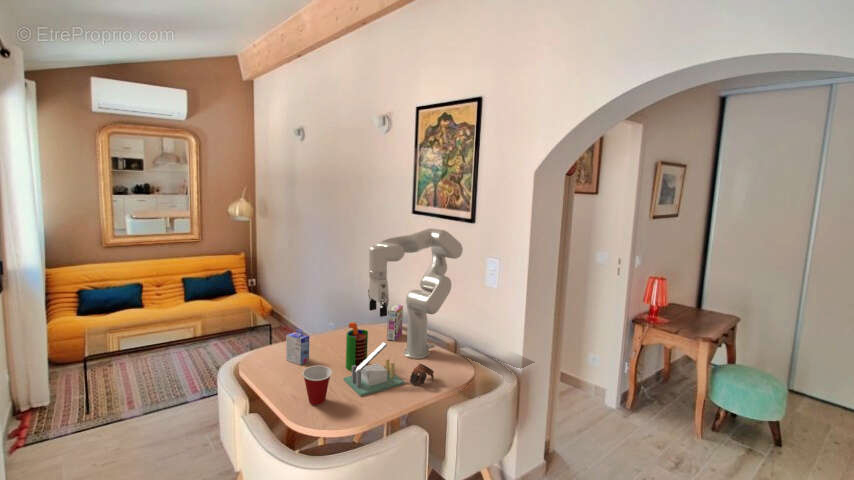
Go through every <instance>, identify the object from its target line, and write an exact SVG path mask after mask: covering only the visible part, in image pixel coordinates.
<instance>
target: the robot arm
mask: <svg viewBox="0 0 854 480" xmlns="http://www.w3.org/2000/svg"><path fill="white" fill-rule="evenodd" d="M428 248H430V249H431V250H430V251H431V263H430V265H429V267H428V269H426V272H424V274H423V275H422V277H421V280H420V281H419V286H420V289H421V290H420V289H412V290H410V291H408V293H407V294H406V298H405V304H406V305H405V306H406V310H407V311H406V312H407V325H406V327H407V328H406V330H407V332H406V333H407V334H406V348H404V350H403V355H404V356H405V357H407V358H409V359H413V360H415V359H416V360H419V359H420V360H421V359H422V360H423V359H425V358H428V357H429V356H430V349H432V348H435V346H436V345H435V343H434V342H433V343H429V342H428V341H427V340H428V316H427V315H435V314H436V313H438V312H439V310H440V309H441V307H442V306H443V304H444V302H445V301H446V299H447V297H448V296H449V294H450V293H451V290H452V281H451V279H450V277H448V276H447V275H446V273H447V270H448V264H447V260H446V258H448V259H456V260H457V259H459V258H460V257H461V256H462V254H463V252H464V251H463V250H464V249H463V245H462V244H461V242H460V241H459V240H457V238H455V237H454V236H453V235H452V234H451V233H449V231H447V230H444V229H437V228H427V229H423V230H420V231H418V232H415V233H412V234H407V235H401V236H394V237H390V238H386V239H383V240H381V241H378V243H377V244H374V245H372V246H370V247H369V249H368V275H369V276H368V277H369V284H368V290H367V293H368V301H369V303H368V304H369V306H368V309H369V311H375V310H377V302H378V303H379V306H380V307H379V317H380V318H382V317H383V318H384V317H388V305H389V301H390V299H389V297H390V296H389V295H390V294H389V283H388V282H389V281H388V279H387V278H388V262H399V261H401V260H403V259H404V256H405V253H406V254H407V253H409V254H412V253H418V252H421V251H423V250H427V249H428ZM427 356H428V357H427Z"/></svg>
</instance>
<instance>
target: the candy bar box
mask: <svg viewBox="0 0 854 480" xmlns="http://www.w3.org/2000/svg"><path fill="white" fill-rule="evenodd" d="M403 317H404V305H399V304H395V305H393V306H392V307H390V308H389V309H387V328H386V329H387V331H386V332H387V335H386V340H387V341H392V342H396V341H397V340H398V339H399V338H400V337H401V336H402V335H403V319H404V318H403Z"/></svg>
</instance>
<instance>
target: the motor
mask: <svg viewBox="0 0 854 480" xmlns="http://www.w3.org/2000/svg"><path fill="white" fill-rule="evenodd" d="M348 329H351V330H349V331H347V332H346V337H345V338H346V340H345V341H346V343H345V344H346V347H345V348H346V349H345V351H346V352H345V368H346V370H347V371H349V372H352V366H353V365H356V366H357V367H358V366H359V365H360V364H361V363H362V362H363V361H364V360H365V359H366V358H367V357H368V343H369V342H368V339H369V336H368V335H369V332H368V330H366V329H362V328H361V329H359V328H358V324H357V323H356V322H353V321H352V322H351V321H350V322H349V323H348ZM357 367H356V368H357Z"/></svg>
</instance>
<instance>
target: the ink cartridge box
mask: <svg viewBox="0 0 854 480" xmlns="http://www.w3.org/2000/svg"><path fill="white" fill-rule="evenodd" d="M303 331H304V329H301V328H297V330H295V331H294V332H291V333H288V334H286V335H285V337H286V338H285V339H286V340H285V341H286V342H285V343H286V345H285V347H286V349H285V350H286V353H285V354H286V356H285V357H286V358H285V360H286V361H288V362H291V363H294V364H297V365H300V366H301V365H304V364H307V363H310V335H307V334H303Z"/></svg>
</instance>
